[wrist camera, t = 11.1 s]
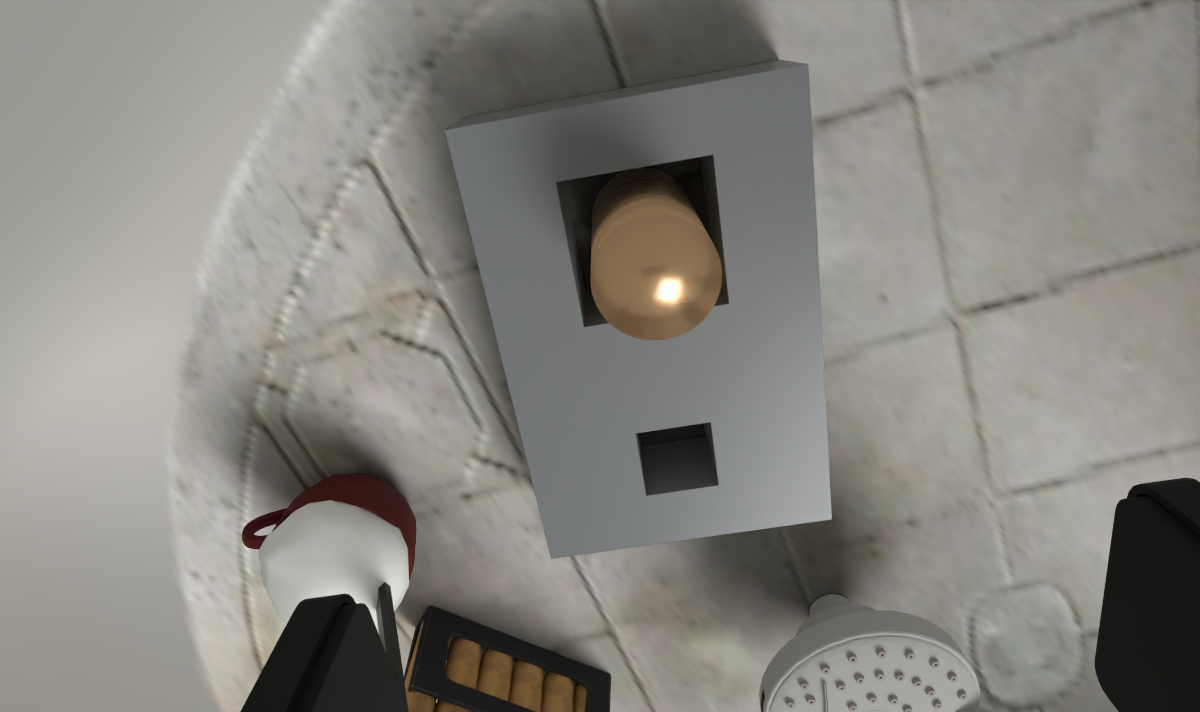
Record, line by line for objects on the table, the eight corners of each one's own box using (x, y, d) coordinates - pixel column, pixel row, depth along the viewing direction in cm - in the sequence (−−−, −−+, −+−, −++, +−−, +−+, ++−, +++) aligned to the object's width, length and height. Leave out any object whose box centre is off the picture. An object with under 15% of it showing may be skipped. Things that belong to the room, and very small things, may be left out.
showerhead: (988, 800, 33) (766, 811, 33) (923, 671, 40) (738, 681, 40) (1023, 643, 29) (772, 657, 29) (944, 530, 36) (739, 542, 36)
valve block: (779, 59, 27) (808, 64, 23) (807, 467, 34) (831, 519, 31) (464, 117, 28) (444, 130, 24) (556, 503, 35) (551, 558, 31)
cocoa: (263, 510, 36) (96, 724, 25) (312, 417, 33) (152, 608, 22) (435, 596, 37) (349, 832, 27) (493, 514, 35) (425, 735, 24)
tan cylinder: (684, 159, 29) (714, 203, 21) (696, 257, 30) (728, 329, 23) (583, 177, 29) (579, 227, 22) (601, 272, 30) (602, 349, 23)
